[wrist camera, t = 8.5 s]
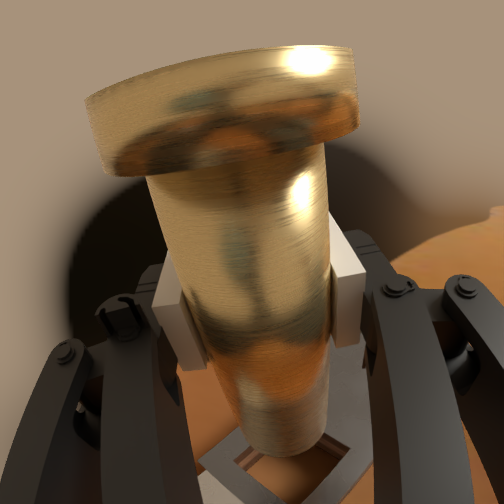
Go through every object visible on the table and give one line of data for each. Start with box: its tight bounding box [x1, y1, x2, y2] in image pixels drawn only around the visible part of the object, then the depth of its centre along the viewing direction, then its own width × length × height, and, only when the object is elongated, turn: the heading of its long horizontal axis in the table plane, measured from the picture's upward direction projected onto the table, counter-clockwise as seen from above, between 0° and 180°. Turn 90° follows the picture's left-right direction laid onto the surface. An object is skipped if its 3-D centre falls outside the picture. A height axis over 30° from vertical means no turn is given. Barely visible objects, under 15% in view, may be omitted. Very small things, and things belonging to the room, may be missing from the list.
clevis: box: [197, 333, 373, 504], centre depth 18 cm, size 35×9×4 cm, turn 135°
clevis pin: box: [85, 46, 360, 458], centre depth 9 cm, size 6×6×14 cm
